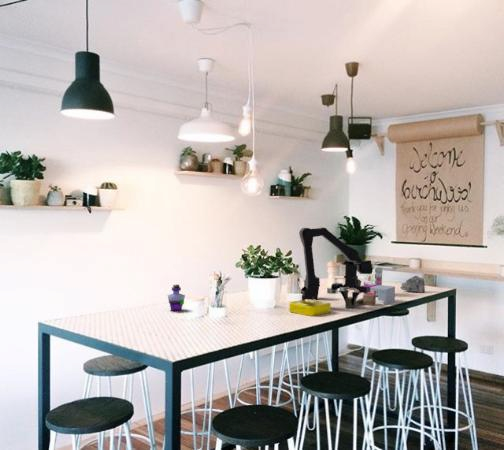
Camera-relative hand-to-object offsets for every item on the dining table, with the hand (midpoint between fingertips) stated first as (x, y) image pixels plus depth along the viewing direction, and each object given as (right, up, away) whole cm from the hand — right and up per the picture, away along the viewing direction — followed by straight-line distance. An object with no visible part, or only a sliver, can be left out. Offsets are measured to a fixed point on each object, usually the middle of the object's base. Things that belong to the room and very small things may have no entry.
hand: (350, 305), depth 262 cm
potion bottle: (-85, 0, -14) cm, 86 cm away
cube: (+12, -1, +10) cm, 16 cm away
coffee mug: (-16, -1, +27) cm, 31 cm away
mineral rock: (+50, -1, +58) cm, 77 cm away
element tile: (-22, -1, -13) cm, 25 cm away
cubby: (+20, -1, +19) cm, 28 cm away
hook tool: (+6, -1, +6) cm, 9 cm away
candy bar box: (+21, -1, +42) cm, 47 cm away
